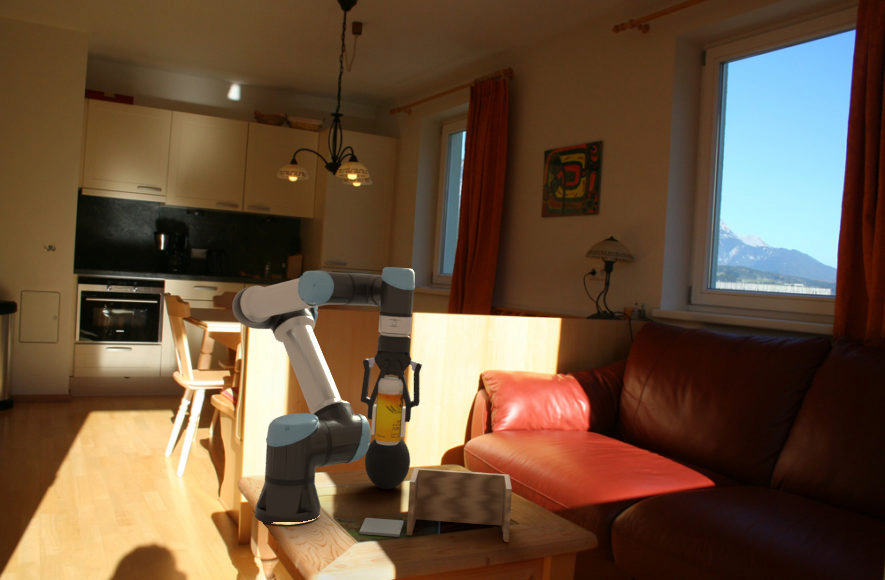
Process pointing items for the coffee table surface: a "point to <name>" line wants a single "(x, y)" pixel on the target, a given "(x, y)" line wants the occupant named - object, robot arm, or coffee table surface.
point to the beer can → (389, 411)
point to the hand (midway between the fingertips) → (387, 434)
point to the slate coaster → (381, 527)
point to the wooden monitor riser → (459, 498)
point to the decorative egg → (387, 464)
